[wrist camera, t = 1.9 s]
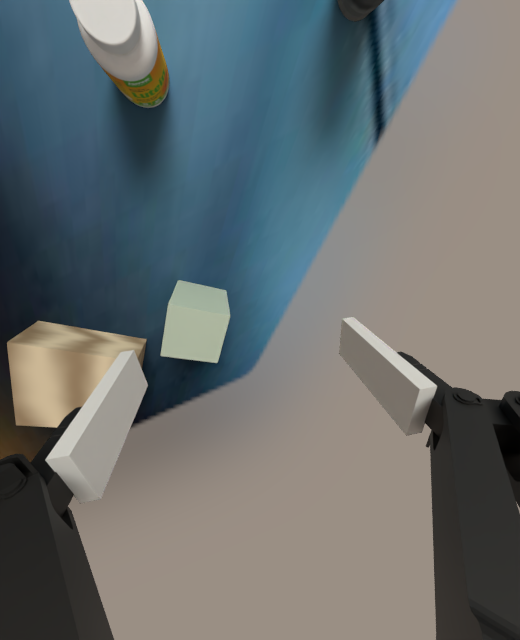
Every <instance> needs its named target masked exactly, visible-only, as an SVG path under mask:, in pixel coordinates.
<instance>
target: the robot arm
mask: <svg viewBox="0 0 520 640" xmlns="http://www.w3.org/2000/svg"><path fill="white" fill-rule="evenodd" d="M339 354H340V355H341V356H342V357H343V359H344V360H345V361H346V362H347V364H348V365H349V366H350V367H351V369H352V370H353V371H354V372H355V373H356V375H357V376H358V377H359V378H360V380H361V381H362V382H363V383H364V384H365V386H366V387H367V388H368V389H369V391H370V392H371V393H372V394H373V396H374V397H375V398H376V399H377V400H378V402H379V403H380V404H381V405H382V406H383V408H384V409H385V410H386V411H387V413H388V414H389V415H390V416H391V418H392V419H393V420H394V421H395V422H396V424H397V425H398V426H399V427H400V429H401V430H402V431H403V432H404V433H405V435H412V434H417V433H421V432H422V430H423V427H424V424H425V423H426V424H427V425H428V426H429V427H430V429H431V433H430V436H429V439H428V442H427V444H426V447H429V446H430V453H431V482H432V483H431V484H432V514H433V546H434V577H435V606H436V640H520V514H519V510H518V507H517V504H518V505H519V507H520V392H518V391H509V392H506V393H505V395H504V397H503V399H502V400H492V399H482V398H481V397H480V396H478V395H477V394H475V393H473V392H471V391H469V390H466V389H462V388H452V387H451V386H449V385H448V384H447V383H445V382H444V381H443V380H442V379H440V378H439V377H438V376H436V375H435V374H434V373H432V372H431V371H430V370H429V369H426V367H425V366H423V365H422V364H420V363H419V362H418V361H417V360H416V359H414V358H413V357H412V356H409V355H407V354H405V353H403V352H397V353H396V352H395V351H394V350H393V349H391V348H390V347H389V346H388V345H386V344H385V343H384V342H383V341H382V340H380V339H379V338H378V337H376V336H375V335H374V334H373V333H372V332H370V331H369V330H368V329H367V328H366V327H365V326H363V325H362V324H361V323H360V322H358V321H357V320H356V319H355V318H353V317H350V318H344V319H342V325H341V338H340V350H339ZM147 386H148V384H147V381H146V379H145V376H144V374H143V371H142V369H141V366H140V364H139V361H138V359H137V356H136V354H135V351H134V350H131V351H124V352H120V354H119V355H118V357H117V358H116V359H115V361H114V362H113V364H112V365H111V367H110V368H109V369H108V371H107V372H106V374H105V375H104V377H103V378H102V379H101V381H100V382H99V384H98V385H97V387H96V388H95V389H94V391H93V392H92V394H91V395H90V397H89V398H88V399H87V401H86V402H85V404H84V405H83V406H82V407H77V408H75V409H74V410H73V411H71V412H70V413H69V414H68V415H67V416H66V417H65V418H64V419H63V420H62V422H61V423H60V424H59V426H58V427H57V429H56V430H55V431H54V432H53V434H52V435H51V438H49V439H48V440H47V442H46V443H45V444H44V446H43V447H42V448H41V450H40V451H39V452H38V454H37V455H36V456H35V458H34V459H33V460H32V462H31V463H30V462H29V461H28V460H27V459H26V457H25V456H24V455H23V454H14V455H10V456H7V457H5V458H3V459H1V460H0V640H114V638H113V635H112V632H111V629H110V626H109V623H108V620H107V617H106V614H105V611H104V608H103V605H102V602H101V599H100V596H99V593H98V590H97V587H96V584H95V581H94V578H93V575H92V572H91V569H90V565H89V562H88V560H87V556H86V553H85V550H84V547H83V544H82V541H81V538H80V535H79V532H78V529H77V526H76V523H75V520H74V517H73V514H72V511H71V510H70V509H69V507H68V505H69V503H70V501H71V499H72V497H73V495H74V497H75V498H76V499H77V500H78V501H79V503H85V502H90V501H95V500H99V499H101V497H102V495H103V492H104V490H105V487H106V485H107V483H108V480H109V478H110V476H111V473H112V471H113V468H114V466H115V463H116V461H117V459H118V456H119V454H120V451H121V449H122V447H123V444H124V442H125V439H126V437H127V435H128V432H129V430H130V427H131V425H132V422H133V420H134V418H135V415H136V413H137V410H138V408H139V406H140V403H141V401H142V398H143V396H144V394H145V391H146V389H147ZM516 502H517V503H516Z"/></svg>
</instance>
